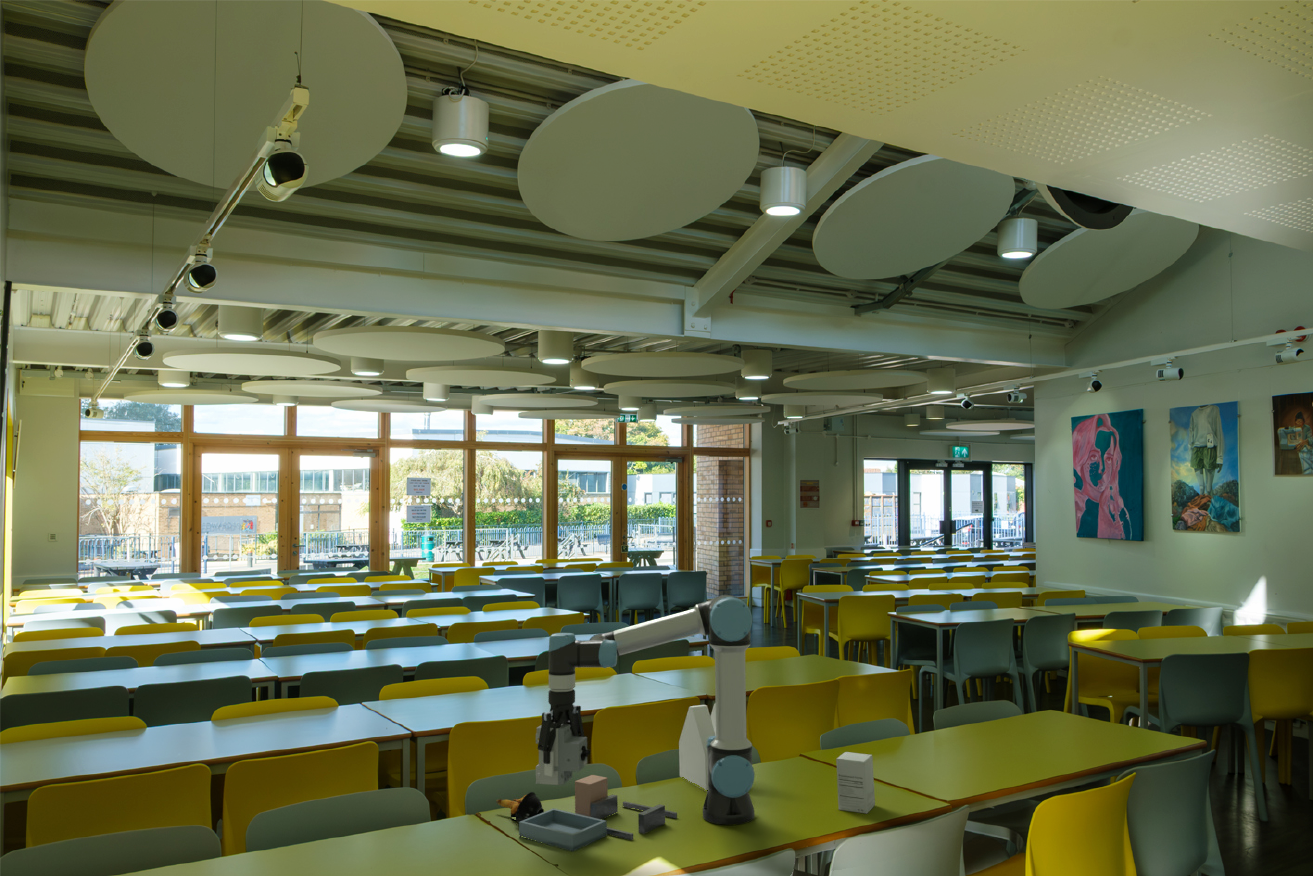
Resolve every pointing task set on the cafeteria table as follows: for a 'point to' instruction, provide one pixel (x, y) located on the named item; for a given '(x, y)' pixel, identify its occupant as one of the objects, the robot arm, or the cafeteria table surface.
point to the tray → (563, 829)
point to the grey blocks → (646, 819)
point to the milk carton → (696, 744)
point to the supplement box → (855, 782)
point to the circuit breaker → (563, 756)
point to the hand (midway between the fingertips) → (561, 771)
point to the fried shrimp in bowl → (523, 806)
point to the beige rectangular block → (589, 793)
